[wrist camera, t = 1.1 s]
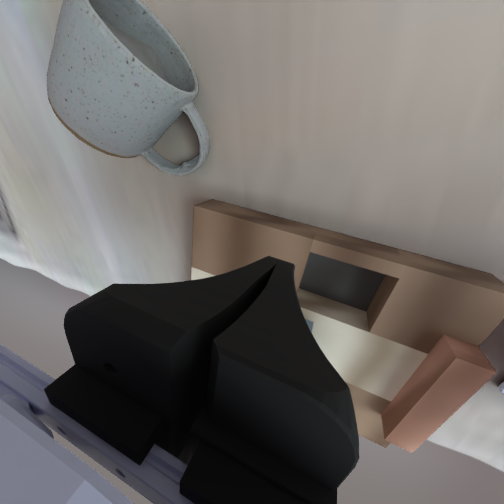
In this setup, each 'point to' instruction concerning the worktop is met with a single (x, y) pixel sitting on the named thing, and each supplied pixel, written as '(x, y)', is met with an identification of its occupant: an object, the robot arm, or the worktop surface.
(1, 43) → the worktop surface
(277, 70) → the worktop surface
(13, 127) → the worktop surface
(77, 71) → the ceramic mug
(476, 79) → the worktop surface
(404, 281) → the trap board
